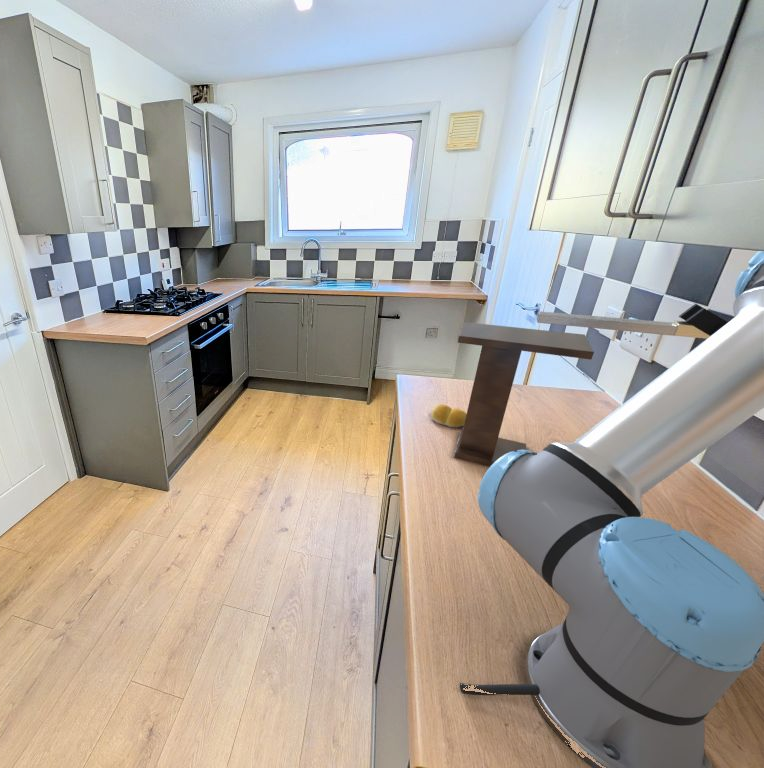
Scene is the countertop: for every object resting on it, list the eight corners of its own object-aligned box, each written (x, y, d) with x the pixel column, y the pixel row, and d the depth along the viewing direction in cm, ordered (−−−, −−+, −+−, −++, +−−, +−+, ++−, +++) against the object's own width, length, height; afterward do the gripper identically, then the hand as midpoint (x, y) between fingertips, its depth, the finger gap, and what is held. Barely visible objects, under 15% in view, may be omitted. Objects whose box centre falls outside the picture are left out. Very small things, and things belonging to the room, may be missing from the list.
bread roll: (462, 431, 101) (465, 418, 99) (427, 421, 106) (429, 408, 104) (470, 419, 106) (473, 406, 105) (436, 410, 112) (438, 397, 110)
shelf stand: (544, 453, 91) (584, 334, 79) (548, 482, 82) (594, 351, 70) (442, 430, 102) (464, 322, 90) (435, 452, 92) (458, 335, 81)
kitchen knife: (763, 340, 62) (769, 328, 61) (772, 345, 60) (779, 332, 59) (536, 319, 76) (539, 309, 75) (537, 322, 74) (540, 312, 73)
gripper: (846, 442, 55) (683, 343, 60) (786, 399, 67) (654, 319, 72) (922, 407, 51) (738, 303, 56) (842, 368, 63) (698, 285, 68)
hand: (691, 312), depth 64 cm, fingers closed on kitchen knife, 3 cm apart
